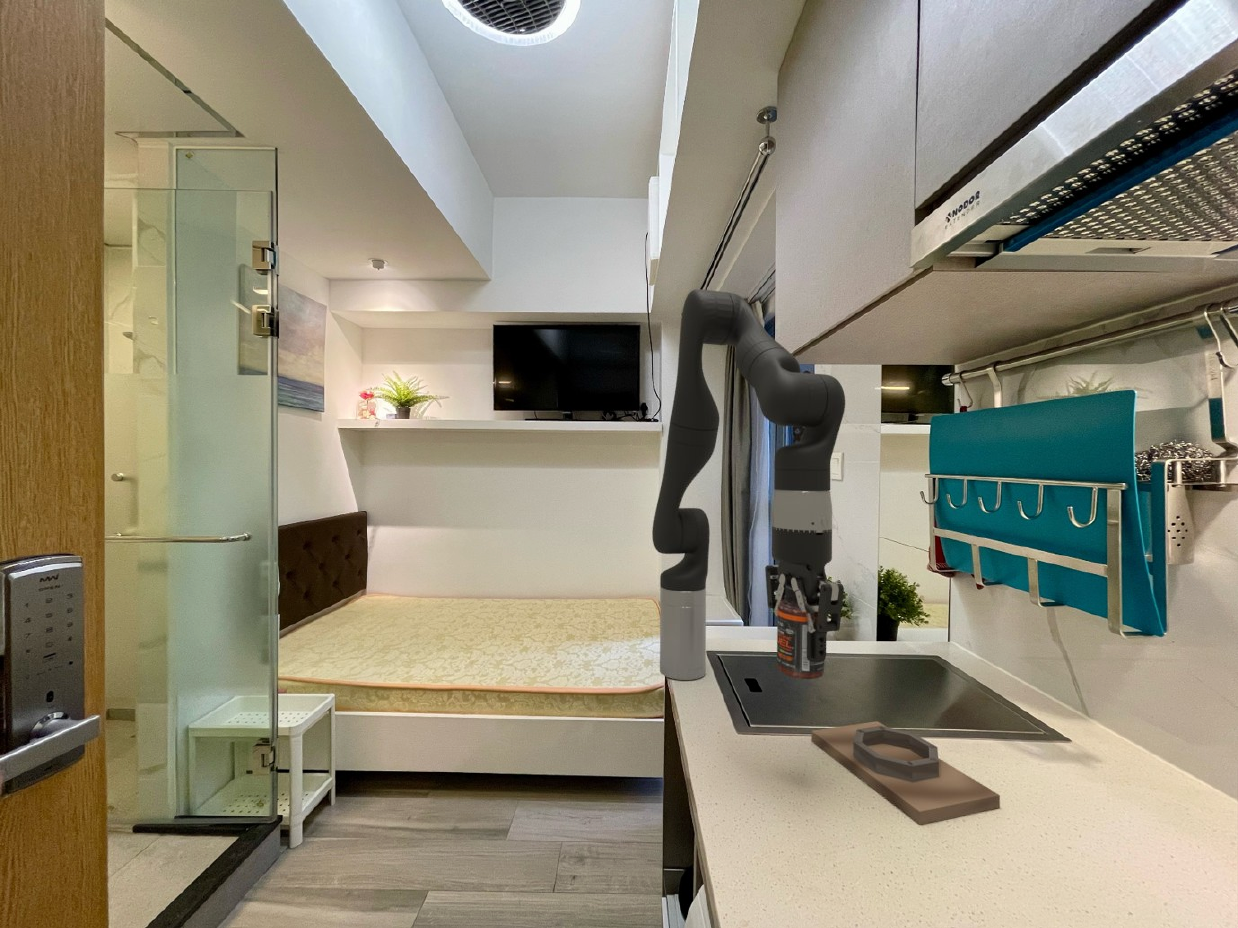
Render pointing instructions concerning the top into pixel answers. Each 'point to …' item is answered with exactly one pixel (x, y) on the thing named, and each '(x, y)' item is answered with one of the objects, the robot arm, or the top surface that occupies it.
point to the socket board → (908, 793)
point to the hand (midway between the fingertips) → (800, 651)
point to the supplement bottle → (794, 640)
